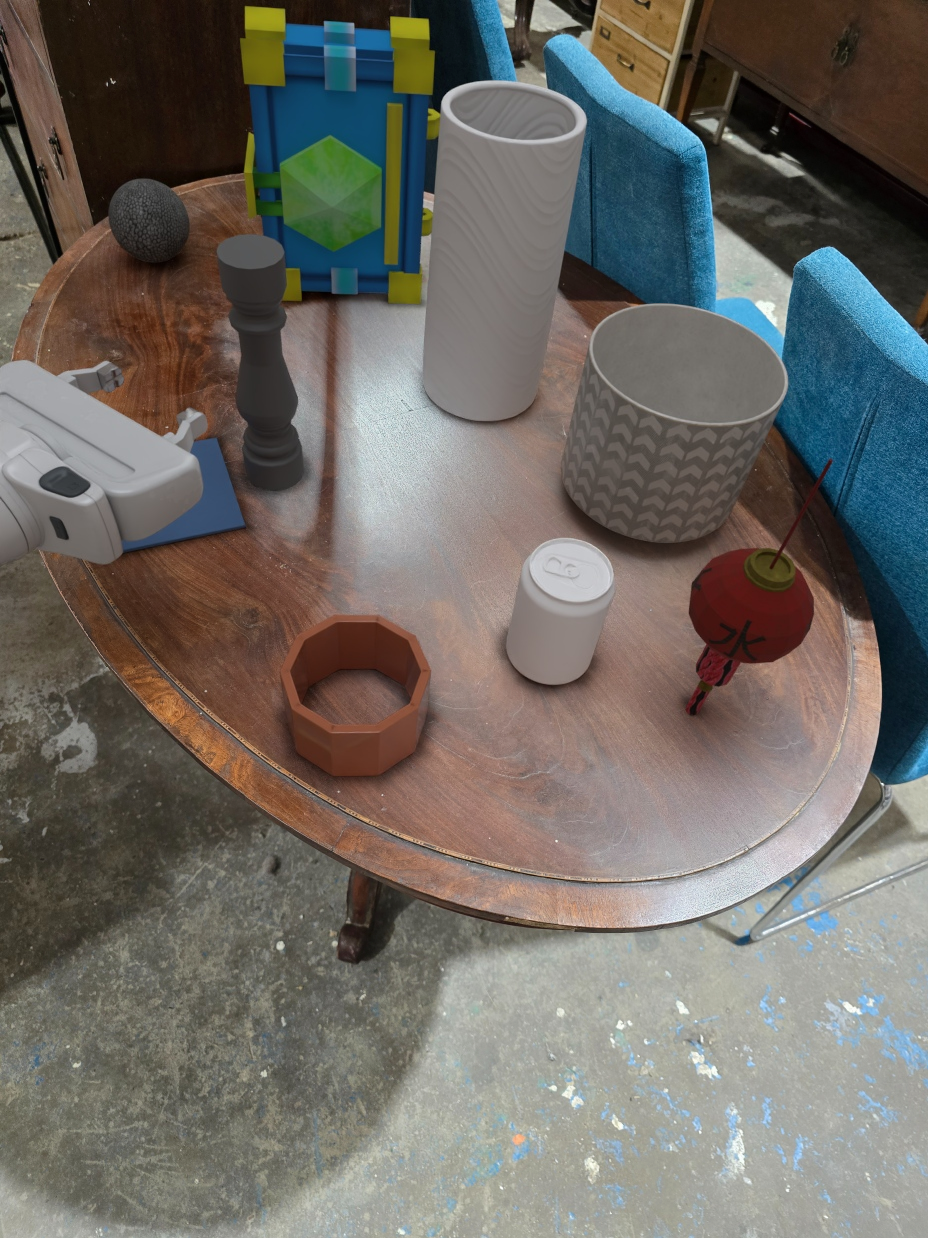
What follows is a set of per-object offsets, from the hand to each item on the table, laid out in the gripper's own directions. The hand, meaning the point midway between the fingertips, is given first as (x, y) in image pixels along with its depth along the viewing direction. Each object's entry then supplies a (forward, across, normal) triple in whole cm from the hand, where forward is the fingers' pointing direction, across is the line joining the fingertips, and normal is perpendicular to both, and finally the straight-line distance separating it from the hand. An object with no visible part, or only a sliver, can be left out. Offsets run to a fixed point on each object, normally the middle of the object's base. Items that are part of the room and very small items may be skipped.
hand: (158, 393), depth 71 cm
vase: (+40, +8, -19) cm, 45 cm away
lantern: (+13, +49, -19) cm, 54 cm away
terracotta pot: (-6, +25, -19) cm, 32 cm away
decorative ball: (+35, -42, -19) cm, 58 cm away
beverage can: (+10, +35, -19) cm, 41 cm away
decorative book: (+47, -19, -19) cm, 54 cm away
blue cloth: (+4, -7, -19) cm, 20 cm away
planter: (+35, +32, -19) cm, 51 cm away
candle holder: (+13, -1, -19) cm, 23 cm away
